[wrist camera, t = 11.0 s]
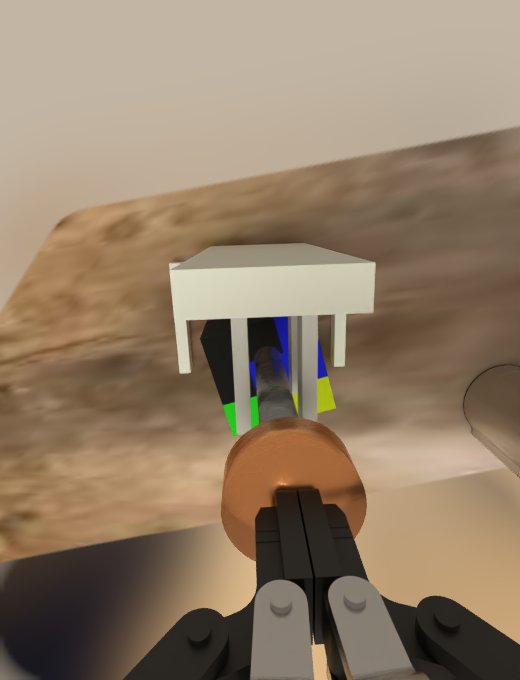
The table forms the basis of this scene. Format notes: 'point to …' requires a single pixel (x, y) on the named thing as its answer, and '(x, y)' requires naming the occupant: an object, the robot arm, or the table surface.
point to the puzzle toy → (259, 336)
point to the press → (272, 307)
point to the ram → (284, 460)
